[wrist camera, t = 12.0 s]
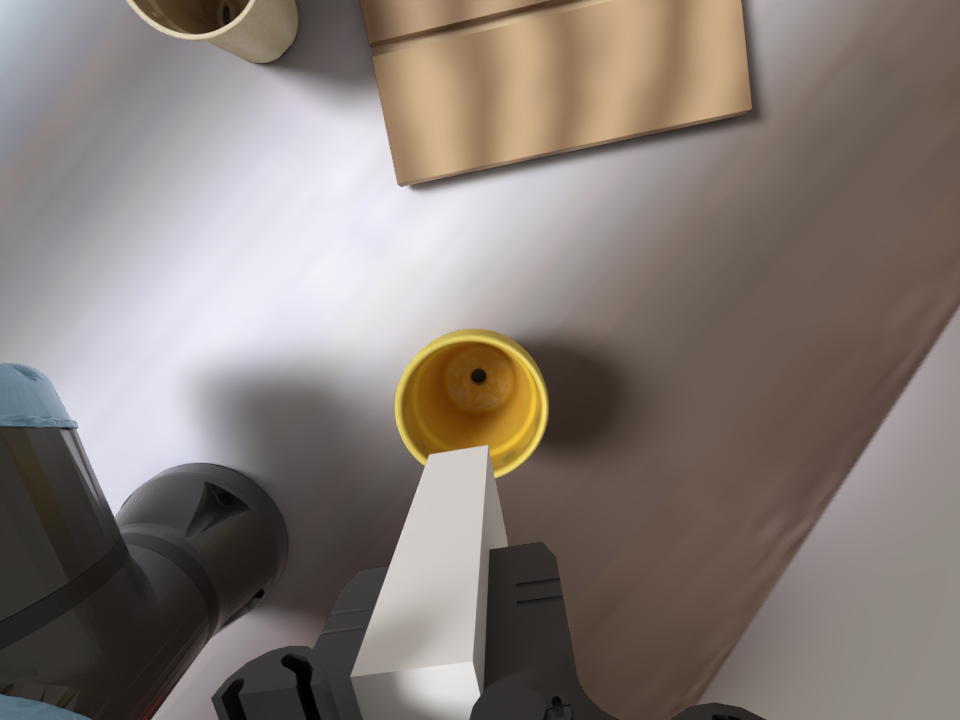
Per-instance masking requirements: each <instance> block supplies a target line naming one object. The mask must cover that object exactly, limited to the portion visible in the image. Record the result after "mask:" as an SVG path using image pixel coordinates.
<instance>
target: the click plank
mask: <svg viewBox="0 0 960 720" xmlns="http://www.w3.org/2000/svg"><path fill="white" fill-rule="evenodd" d="M372 61H373V66H374V71H375V76H376V81H377V86H378V91H379V96H380V100H381V105H382V110H383V115H384V120H385V125H386V130H387V135H388V140H389V144H390V149H391V154H392V159H393V164H394V169H395V174H396V179H397V184H398V185H399V186H401V187H403V186H408V185H412V184H417V183H422V182H427V181H431V180H436V179H441V178H446V177H450V176H455V175H460V174H465V173H469V172H474V171H479V170H484V169H488V168H493V167H498V166H503V165H507V164H512V163H517V162H522V161H526V160H531V159H536V158H541V157H545V156H550V155H555V154H560V153H564V152H569V151H574V150H579V149H583V148H588V147H593V146H598V145H602V144H607V143H612V142H617V141H621V140H626V139H631V138H636V137H641V136H645V135H650V134H655V133H660V132H664V131H669V130H674V129H679V128H683V127H688V126H693V125H698V124H702V123H707V122H712V121H717V120H721V119H726V118H731V117H736V116H740V115H744V114H746V113H747V112H749V111H750V110H751V109H752V104H751V94H750V84H749V73H748V63H747V53H746V43H745V33H744V23H743V13H742V3H741V0H613V1H609V2H604V3H600V4H596V5H592V6H587V7H583V8H579V9H575V10H570V11H566V12H562V13H557V14H553V15H549V16H545V17H540V18H536V19H532V20H528V21H523V22H519V23H515V24H511V25H506V26H502V27H498V28H494V29H489V30H485V31H481V32H476V33H472V34H468V35H464V36H459V37H455V38H451V39H447V40H442V41H438V42H434V43H430V44H425V45H421V46H417V47H413V48H408V49H404V50H400V51H395V52H391V53H387V54H383V55H378V56H374V57H372Z"/></svg>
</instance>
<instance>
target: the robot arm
mask: <svg viewBox="0 0 960 720" xmlns="http://www.w3.org/2000/svg"><path fill="white" fill-rule="evenodd" d="M76 429H78V425H77V423H76V421H74V420H71V418H70V417H69V415H68V413H67V411H66V409H65V407H64V406H63V404H62V402H61V400H60V398H59V396H58V394H57V392H56V390H55V388H54V386H53V384H52V383H51V381H50V380H49V379H48V378H47V377H46V376H45V375H44V374H43V373H42V372H40V371H38V370H36V369H34V368H32V367H29V366H26V365H21V364H0V720H151V719H152V718H153V716H154V715H155V714H156V712H157V711H158V710H159V708H160V707H161V705H162V704H163V703H164V701H165V700H166V699H167V697H168V696H169V694H170V693H171V692H172V690H173V689H174V688H175V686H176V685H177V683H178V682H179V681H180V679H181V678H182V677H183V675H184V674H185V673H186V671H187V670H188V668H189V667H190V666H191V664H192V663H193V662H194V660H195V659H196V657H197V656H198V655H199V653H200V652H201V651H202V649H203V648H204V647H205V645H206V644H207V643H208V641H209V640H210V639H211V638H212V637H213V636H215V635H216V634H217V633H219V632H220V631H222V630H223V629H225V628H226V627H228V626H229V625H231V624H232V623H233V622H235V621H236V620H238V619H239V618H241V617H242V616H244V615H245V614H247V613H248V612H249V611H251V610H252V609H253V608H255V607H256V606H257V605H258V604H259V603H260V602H261V601H262V600H263V599H264V598H265V597H266V596H267V594H268V593H269V592H270V590H271V589H272V587H273V586H274V584H275V583H276V581H277V580H278V578H279V577H280V575H281V573H282V571H283V569H284V566H285V563H286V559H287V554H288V539H287V532H286V528H285V525H284V522H283V519H282V517H281V515H280V513H279V511H278V509H277V508H276V506H275V504H274V503H273V502H272V500H271V499H270V498H269V497H268V495H267V494H266V493H265V492H264V491H263V490H262V489H261V488H260V487H258V486H257V485H256V484H255V483H253V482H252V481H251V480H249V479H248V478H246V477H244V476H243V475H241V474H239V473H237V472H235V471H232V470H230V469H227V468H224V467H221V466H216V465H211V464H202V463H194V464H184V465H179V466H176V467H172V468H170V469H167V470H165V471H163V472H161V473H159V474H158V475H156V476H155V477H153V478H152V479H150V480H149V481H147V482H146V483H144V484H143V485H141V486H140V487H139V488H137V489H136V490H135V491H134V492H133V493H132V494H131V495H130V496H129V497H128V498H127V500H126V501H125V502H124V504H123V505H122V507H121V509H120V511H119V512H118V513H117V515H116V516H115V517H114V516H113V514H112V511H111V509H110V507H109V505H108V502H107V500H106V498H105V496H104V494H103V491H102V489H101V487H100V485H99V482H98V480H97V478H96V476H95V473H94V471H93V469H92V466H91V464H90V462H89V459H88V457H87V454H86V452H85V450H84V447H83V445H82V442H81V440H80V438H79V435H78V433H77V431H76ZM322 632H323V633H322V635H320V636H319V638H318V640H317V642H316V645H315V647H314V649H313V650H312V649H311V648H309V647H307V646H287V647H283V648H279V649H276V650H272V651H269V652H267V653H265V654H263V655H261V656H259V657H257V658H255V659H253V660H252V661H250V662H248V663H246V664H245V665H244V666H243V667H241V668H240V669H239V670H238V671H236V672H235V673H234V674H233V675H231V676H230V677H229V678H228V679H227V680H226V681H225V682H224V683H223V684H222V686H221V687H220V688H219V689H218V690H217V692H216V693H215V694H214V695H213V696H212V698H211V699H212V702H213V704H214V707H215V710H216V713H217V715H218V718H219V720H618V719H616V718H614V717H613V716H611V715H609V714H607V713H606V712H604V711H602V710H601V709H600V708H599V707H598V706H596V705H595V704H594V703H593V702H592V701H591V700H590V699H589V698H588V696H587V695H586V693H585V692H584V690H583V689H582V687H581V686H580V683H579V680H578V677H577V673H576V667H575V662H574V656H573V650H572V644H571V639H570V633H569V627H568V622H567V616H566V611H565V605H564V599H563V594H562V588H561V583H560V577H559V572H558V566H557V560H556V557H555V556H554V555H553V553H552V552H551V551H550V550H549V549H548V548H547V547H546V546H545V545H544V544H543V542H537V543H530V544H523V545H516V546H510V547H508V541H507V536H506V531H505V526H504V521H503V516H502V511H501V506H500V502H499V497H498V492H497V487H496V482H495V477H494V472H493V467H492V462H491V457H490V452H489V447H488V445H485V446H479V447H473V448H467V449H461V450H455V451H448V452H442V453H436V454H430V455H429V457H428V460H427V462H426V465H425V468H424V471H423V474H422V477H421V479H420V482H419V485H418V488H417V491H416V493H415V496H414V499H413V502H412V505H411V507H410V510H409V513H408V516H407V519H406V521H405V524H404V527H403V530H402V533H401V536H400V538H399V541H398V544H397V547H396V550H395V552H394V555H393V558H392V561H391V564H390V566H386V567H379V568H372V569H365V570H360V571H359V572H358V573H357V574H356V575H355V576H354V577H353V578H352V579H351V580H350V581H349V582H348V583H347V585H346V586H345V587H344V588H343V589H342V590H341V592H340V594H339V596H338V598H337V600H336V602H335V604H334V606H333V609H332V611H331V616H329V617H328V619H327V621H326V623H325V626H324V628H323V630H322ZM671 720H766V719H763V718H762V717H759V716H757V715H755V714H753V713H751V712H749V711H747V710H745V709H743V708H741V707H736V706H730V705H724V704H719V703H709V704H702V705H695V706H690V707H688V708H687V709H685V710H684V711H682V712H681V713H679V714H677V715H676V716H674V717H673V718H672V719H671Z"/></svg>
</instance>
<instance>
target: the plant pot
mask: <svg viewBox="0 0 960 720" xmlns="http://www.w3.org/2000/svg"><path fill="white" fill-rule="evenodd" d="M475 369H482V370H483V371H484V372H485V373H486V378H485V380H484V381H483V382H480V383H476V382H474V381H473V380H472V378H471V374H472V372H473V371H474V370H475ZM548 416H549V398H548V393H547V388H546V385H545V382H544V379H543V376H542V374H541V372H540V370H539V368H538V366H537V364H536V363H535V361H534V360H533V358H532V357H531V356H530V354H529V353H528V352H527V351H526V350H525V349H524V348H523V347H522V346H520V345H519V344H518V343H517V342H515V341H514V340H512V339H510V338H508V337H507V336H504V335H502V334H500V333H497V332H494V331H489V330H484V329H463V330H458V331H454V332H451V333H448V334H445V335H443V336H441V337H439V338H437V339H436V340H434V341H432V342H431V343H430V344H428V345H427V346H426V347H425V348H423V349H422V350H421V351H420V352H419V353H418V354H417V355H416V356H415V358H414V359H413V360H412V361H411V363H410V364H409V365H408V367H407V368H406V369H405V371H404V373H403V375H402V377H401V379H400V382H399V384H398V387H397V391H396V397H395V418H396V423H397V427H398V431H399V433H400V435H401V438H402V440H403V442H404V444H405V445H406V447H407V449H408V450H409V451H410V452H411V454H412V455H413V456H414V457H415V458H416V459H417V460H418V461H419V462H420V463H421V464H422V465H424V466H425V465H426V462H427V460H428V457H429V455H430V454H436V453H442V452H448V451H455V450H461V449H467V448H473V447H479V446H485V445H488V447H489V452H490V457H491V462H492V467H493V472H494V477H495V478H499V477H501V476H504V475H506V474H508V473H510V472H511V471H513V470H515V469H516V468H518V467H519V466H520V465H521V464H523V463H524V462H525V461H526V460H527V459H528V458H529V457H530V456H531V455H532V453H533V452H534V451H535V449H536V448H537V447H538V445H539V443H540V441H541V439H542V437H543V435H544V433H545V430H546V426H547V422H548Z"/></svg>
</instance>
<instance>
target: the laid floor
mask: <svg viewBox="0 0 960 720" xmlns="http://www.w3.org/2000/svg"><path fill="white" fill-rule="evenodd" d="M609 1H613V0H360V4H361V9H362V13H363V18H364V23H365V27H366V32H367V37H368V41H369V44H370V46H371V47H372V51H373V56H378V55H383V54H387V53H391V52H395V51H400V50H404V49H408V48H413V47H417V46H421V45H425V44H430V43H434V42H438V41H442V40H447V39H451V38H455V37H459V36H464V35H468V34H472V33H476V32H481V31H485V30H489V29H494V28H498V27H502V26H506V25H511V24H515V23H519V22H523V21H528V20H532V19H536V18H540V17H545V16H549V15H553V14H557V13H562V12H566V11H570V10H575V9H579V8H583V7H587V6H592V5H596V4H600V3H604V2H609Z"/></svg>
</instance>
